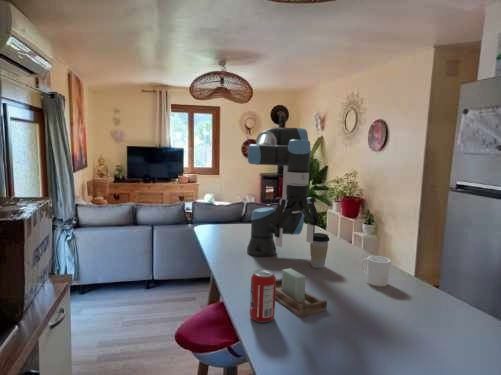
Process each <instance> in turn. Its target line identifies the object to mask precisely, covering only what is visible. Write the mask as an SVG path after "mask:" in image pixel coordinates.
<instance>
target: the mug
mask: <svg viewBox="0 0 501 375" xmlns="http://www.w3.org/2000/svg"><path fill="white" fill-rule="evenodd" d="M365 261H367V262H366V270H365V265H364V264H365ZM390 266H391V259H389V258H388V257H385V256H380V255H370V256H367V258H366V257H365V258H363V259H362V260H361V267H362V268H361V269H362V272H363V274H364V276H365V277H366V282H367V284H368V285H370V286H372V287H378V288H384V287H387V286H388V284H389V283H388V282H389V277H390V276H389V274H390V268H391V267H390Z"/></svg>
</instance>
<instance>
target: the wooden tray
mask: <svg viewBox="0 0 501 375" xmlns="http://www.w3.org/2000/svg"><path fill="white" fill-rule="evenodd" d="M281 290H282V277H281V278H276V292H275V302H277V303H279V304H280V305H282V306H283V307H284V308H286V309H288V310H289V311H291V312H292V313H293V314H295V315H296V316H298V317H299V318H303V317H306V316H307V317H308V316H310V315H314V314H317V313H321V312H325V311H327V310H328V309H327V307H328V301H327V300H321V299H320V298H317V296H315V295H312V294H311V293H309V292H308V291H306V290H305V299H304V301H303V302H298V301H296V300H295V299H293V298H292V297H290V296H289V295H287V294H286V293H284V292H282V291H281Z"/></svg>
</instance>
